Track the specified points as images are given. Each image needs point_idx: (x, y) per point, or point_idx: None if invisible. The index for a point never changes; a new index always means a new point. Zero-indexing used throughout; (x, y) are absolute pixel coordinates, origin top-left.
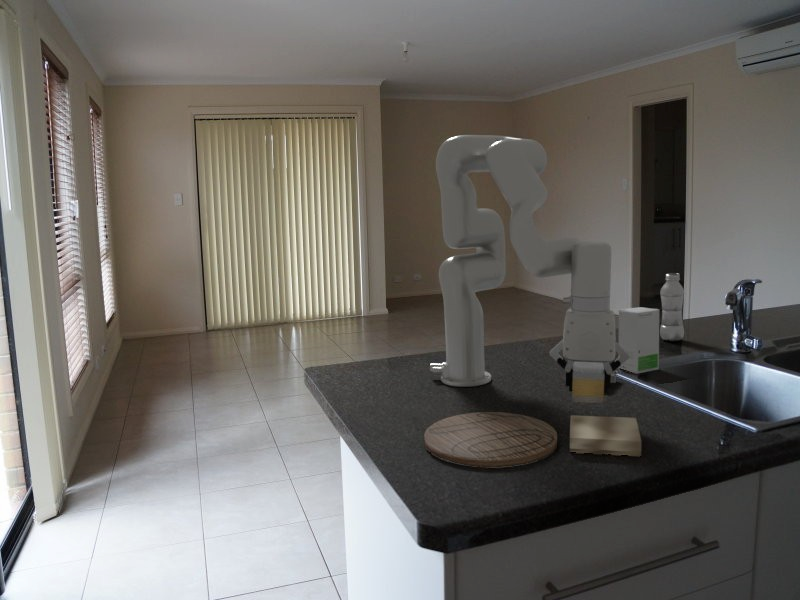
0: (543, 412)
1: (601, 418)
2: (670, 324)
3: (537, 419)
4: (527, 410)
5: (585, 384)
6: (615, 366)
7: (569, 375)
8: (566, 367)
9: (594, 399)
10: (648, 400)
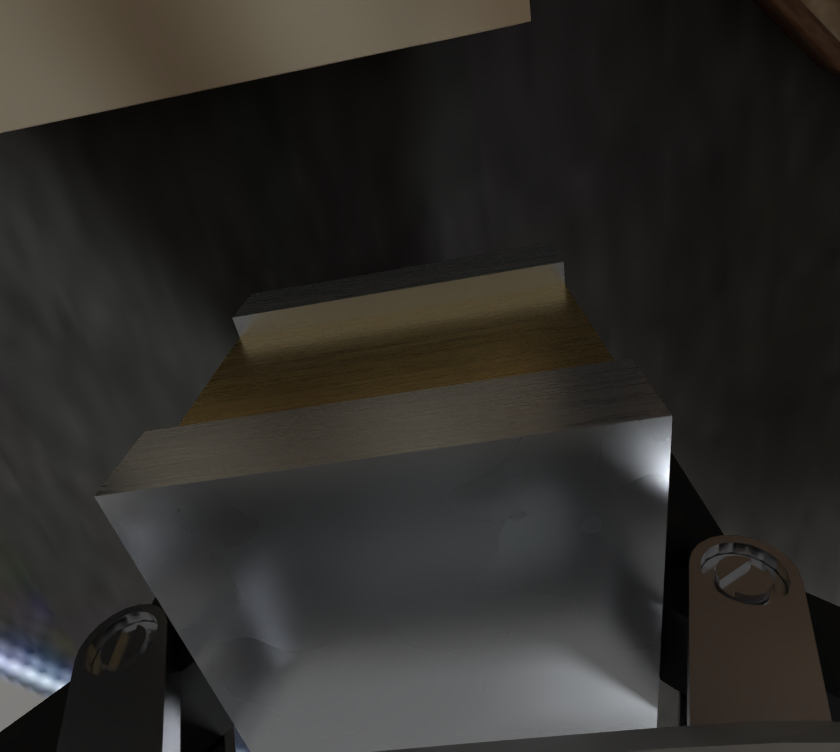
0: (719, 356)
1: (210, 15)
2: None
3: (829, 18)
4: (826, 363)
5: (425, 371)
6: (18, 747)
7: (673, 499)
8: (783, 602)
9: (328, 293)
10: None
